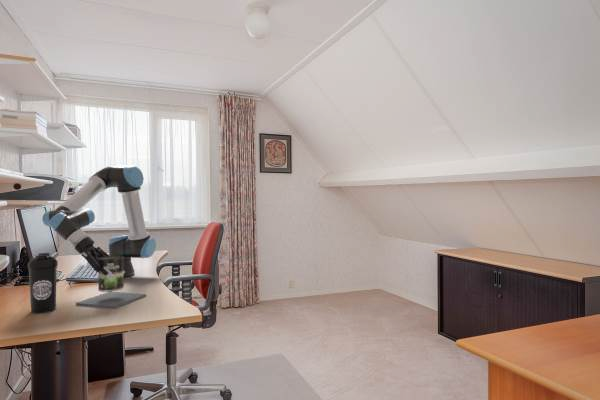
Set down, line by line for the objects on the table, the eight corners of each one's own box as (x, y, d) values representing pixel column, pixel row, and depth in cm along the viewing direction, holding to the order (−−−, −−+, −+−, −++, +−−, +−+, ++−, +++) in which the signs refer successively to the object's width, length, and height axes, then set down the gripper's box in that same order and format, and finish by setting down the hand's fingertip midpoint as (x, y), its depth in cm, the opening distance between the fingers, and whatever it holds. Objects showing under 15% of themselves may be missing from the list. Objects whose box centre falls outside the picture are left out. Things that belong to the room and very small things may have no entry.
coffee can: (123, 290, 169) (123, 258, 169) (97, 293, 165) (97, 259, 165) (124, 285, 178) (124, 255, 178) (99, 287, 174) (98, 256, 174)
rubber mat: (109, 293, 184) (109, 291, 184) (146, 296, 179) (146, 293, 179) (75, 305, 165) (75, 302, 165) (115, 308, 160) (115, 306, 160)
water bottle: (26, 315, 151) (25, 256, 151) (30, 308, 160) (29, 253, 160) (57, 311, 156) (56, 254, 156) (59, 305, 165) (58, 251, 165)
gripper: (86, 244, 181) (121, 277, 183) (61, 251, 159) (101, 289, 160) (98, 233, 182) (133, 266, 183) (74, 238, 159) (114, 276, 161)
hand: (118, 276), depth 172 cm, fingers closed on coffee can, 10 cm apart
